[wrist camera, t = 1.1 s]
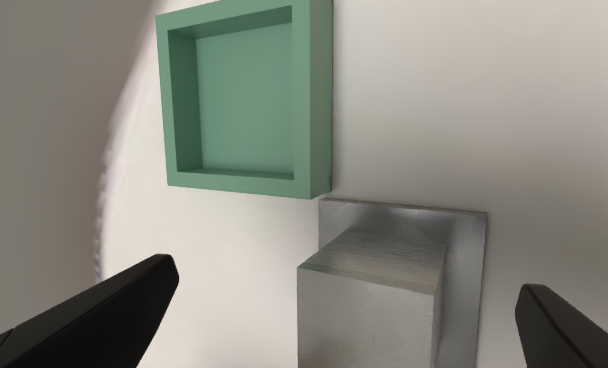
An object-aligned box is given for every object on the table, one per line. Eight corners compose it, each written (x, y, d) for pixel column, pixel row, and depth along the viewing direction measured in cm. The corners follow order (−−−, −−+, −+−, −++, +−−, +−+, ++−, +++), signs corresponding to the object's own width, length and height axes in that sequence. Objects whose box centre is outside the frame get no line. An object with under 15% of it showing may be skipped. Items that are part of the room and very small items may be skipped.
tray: (331, 190, 21) (310, 199, 18) (199, 179, 26) (167, 185, 23) (332, 0, 19) (309, -21, 16) (190, 28, 24) (155, 15, 21)
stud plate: (473, 371, 18) (472, 436, 14) (323, 328, 22) (291, 370, 18) (486, 212, 17) (489, 237, 13) (324, 197, 21) (289, 213, 17)
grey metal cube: (440, 342, 18) (425, 431, 13) (343, 317, 21) (297, 382, 15) (447, 244, 17) (433, 295, 12) (344, 230, 20) (296, 267, 14)
